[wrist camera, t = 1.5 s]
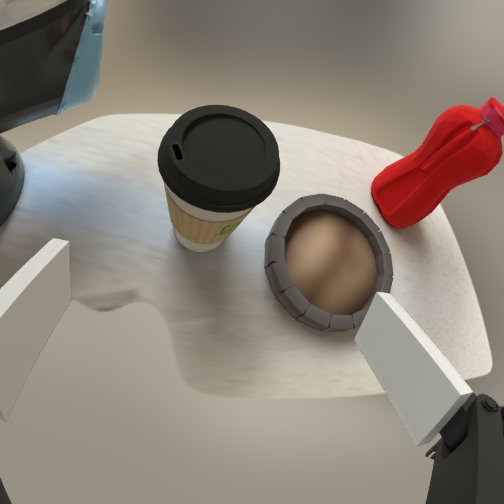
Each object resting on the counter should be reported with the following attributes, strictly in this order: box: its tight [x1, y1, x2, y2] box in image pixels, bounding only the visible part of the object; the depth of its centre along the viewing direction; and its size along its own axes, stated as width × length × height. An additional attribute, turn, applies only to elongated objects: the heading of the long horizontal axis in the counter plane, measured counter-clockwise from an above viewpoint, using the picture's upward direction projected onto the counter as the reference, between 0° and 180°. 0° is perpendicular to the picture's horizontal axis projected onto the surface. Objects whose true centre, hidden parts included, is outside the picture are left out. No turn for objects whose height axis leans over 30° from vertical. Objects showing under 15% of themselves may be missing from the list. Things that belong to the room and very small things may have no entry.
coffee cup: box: [157, 105, 280, 252], centre depth 28 cm, size 10×10×15 cm
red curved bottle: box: [371, 97, 504, 228], centre depth 34 cm, size 9×11×25 cm
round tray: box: [265, 194, 393, 331], centre depth 37 cm, size 17×17×2 cm
